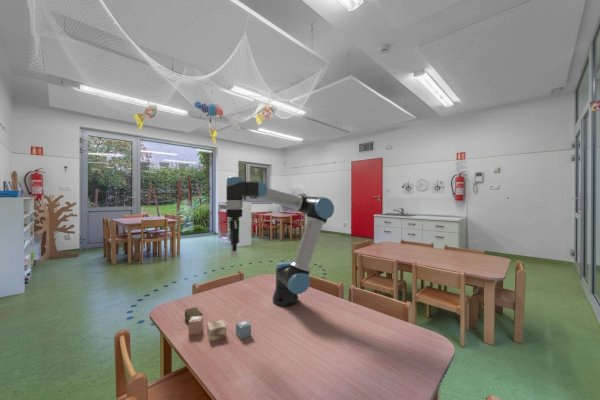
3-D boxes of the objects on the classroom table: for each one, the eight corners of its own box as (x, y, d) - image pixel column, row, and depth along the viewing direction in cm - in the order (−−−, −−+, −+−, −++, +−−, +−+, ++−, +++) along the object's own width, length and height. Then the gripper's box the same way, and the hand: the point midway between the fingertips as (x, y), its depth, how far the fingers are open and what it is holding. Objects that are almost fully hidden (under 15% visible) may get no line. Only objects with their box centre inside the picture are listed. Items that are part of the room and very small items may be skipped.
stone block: (191, 327, 119) (191, 317, 119) (184, 318, 128) (184, 308, 128) (203, 324, 123) (203, 313, 123) (195, 315, 132) (195, 305, 132)
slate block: (246, 330, 117) (246, 319, 117) (250, 335, 113) (251, 323, 113) (235, 334, 114) (236, 322, 114) (240, 339, 110) (240, 327, 110)
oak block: (223, 330, 118) (223, 319, 118) (226, 337, 111) (226, 326, 111) (207, 333, 114) (207, 322, 114) (209, 341, 108) (209, 330, 108)
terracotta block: (202, 328, 119) (202, 315, 119) (200, 334, 114) (200, 320, 114) (191, 329, 118) (191, 315, 118) (188, 335, 113) (188, 321, 113)
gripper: (225, 208, 127) (224, 254, 128) (227, 209, 115) (227, 261, 116) (240, 208, 130) (239, 253, 131) (244, 209, 118) (243, 259, 118)
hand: (233, 257), depth 123 cm, fingers closed
